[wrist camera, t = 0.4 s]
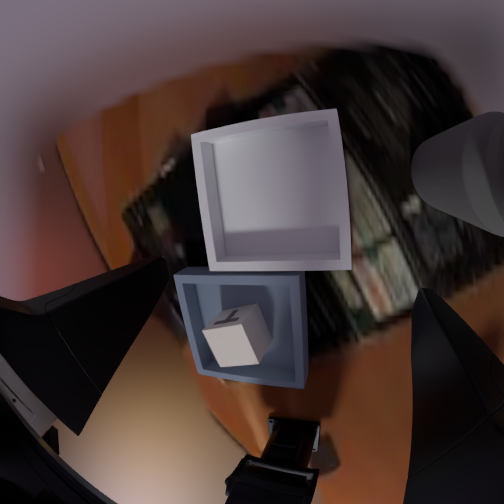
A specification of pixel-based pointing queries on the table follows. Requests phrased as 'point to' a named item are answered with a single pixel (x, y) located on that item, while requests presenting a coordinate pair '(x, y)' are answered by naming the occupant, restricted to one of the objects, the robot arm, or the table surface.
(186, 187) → the table surface
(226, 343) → the white cube
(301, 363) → the blue tray
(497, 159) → the bottle
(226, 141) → the grey tray
